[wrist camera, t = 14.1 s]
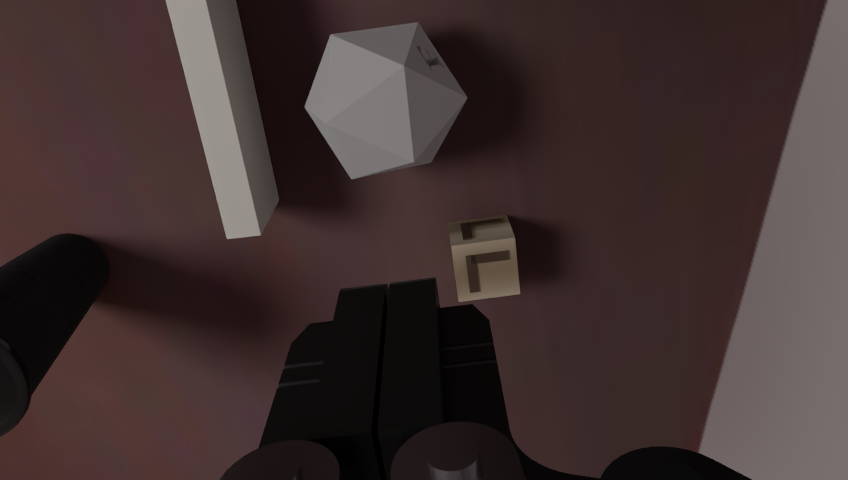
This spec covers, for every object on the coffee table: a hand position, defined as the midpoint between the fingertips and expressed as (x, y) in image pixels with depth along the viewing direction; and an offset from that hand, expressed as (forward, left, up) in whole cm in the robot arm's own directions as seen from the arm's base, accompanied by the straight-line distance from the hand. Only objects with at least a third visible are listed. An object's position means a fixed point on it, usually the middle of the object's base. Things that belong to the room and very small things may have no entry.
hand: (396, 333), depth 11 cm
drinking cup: (+12, -25, -33) cm, 43 cm away
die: (+2, -2, -33) cm, 33 cm away
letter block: (+14, +3, -33) cm, 36 cm away
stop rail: (+2, -11, -33) cm, 35 cm away
